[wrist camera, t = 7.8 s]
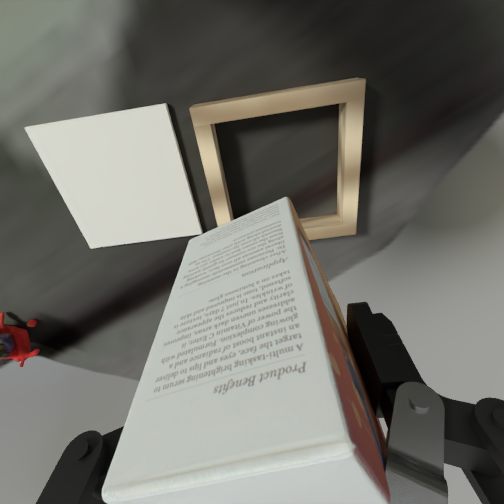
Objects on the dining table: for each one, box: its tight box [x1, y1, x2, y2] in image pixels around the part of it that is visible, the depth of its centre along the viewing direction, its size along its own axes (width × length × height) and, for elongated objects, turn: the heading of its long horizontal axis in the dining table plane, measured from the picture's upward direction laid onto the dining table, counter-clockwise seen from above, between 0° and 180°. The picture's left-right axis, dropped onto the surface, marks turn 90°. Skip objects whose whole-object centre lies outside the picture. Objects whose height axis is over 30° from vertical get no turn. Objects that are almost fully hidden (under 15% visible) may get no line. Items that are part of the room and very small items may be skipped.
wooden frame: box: [189, 77, 366, 240], centre depth 30 cm, size 15×15×2 cm
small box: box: [102, 197, 390, 504], centre depth 11 cm, size 8×6×10 cm
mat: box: [24, 103, 203, 248], centre depth 31 cm, size 14×14×1 cm
